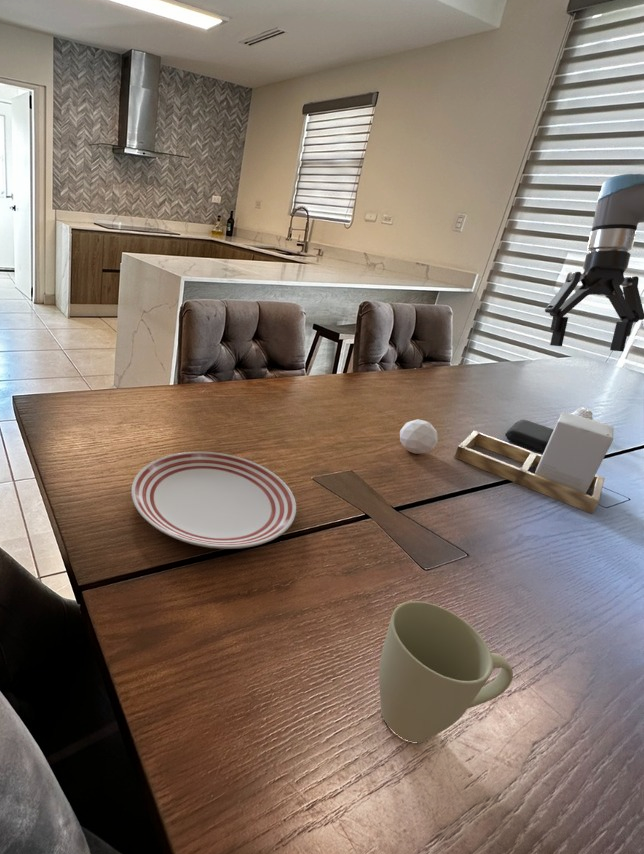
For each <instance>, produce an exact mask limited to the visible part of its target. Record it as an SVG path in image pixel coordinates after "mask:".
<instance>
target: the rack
mask: <svg viewBox="0 0 644 854" xmlns="http://www.w3.org/2000/svg"><path fill="white" fill-rule="evenodd" d="M474 445H475V446H478V447H481V448H482V449H486V450H488V451H491V452H494V453H496V454H498V455H501V456H503V457H507V458H508V459H512V460H515V461H517V462H520V463H522V466H521V467H518V466H515V465H513V464H510V463H508V462H505V461H503V460H500V459H498V458H495V457H493V456H489V455H487V454H484V453H482V452H480V451H478V450H475V449H472V447H473V446H474ZM542 455H543V454H540V453H539V452H535V451H532V450H530V449H528V448H525V447H524V448H523V447H522V446H520V445H519V446H518V445H517V444H513V443H511V442H507V441H505V440H502V439H499V438H496V437H494V436H491V435H488V434H486V433H482V432H480V431H477V430H472V432H471V433H470V434H469V435H468V436H467V437H466V438H465V439H463V441H462V442H461V443H459V445H458V446H457V448H456V450H455V452H454V456H453V459H456V460H459V461H462V462H464V463H466V464H469V465H471V466H474V467H476V468H478V469H482V470H483V471H486V472H489V473H491V474H493V475H496V476H499V477H500V478H503V479H506V480H508V481H511V482H513V483H515V484H518V485H521V486H523V487H525V488H527V489H530V490H532V491H534V492H537V493H540V494H543V495H545V496H547V497H549V498H552V499H553V500H554V499H555V500H557V501H560V502H562V503H564V504H566V505H569V506H571V507H574V508H576V509H579V510H582V511H584V512H586V513H589V514H590V515H591V514H593V513H594V511H595V510H596V508H597V506H598V504H599V502H600V498H601V495H602V492H603V487H604V482H605V477H604V476H600V475H597V474H595V476H594V478H593V480H592V482H591V484H590V486H589V488H588V489H590V492H589V494H588V493H586V494H585V493H582V492H580V491H577V490H575V489H572V488H570V487H567V486H564V485H562V484H559V483H557V482H554V481H552V480H549V479H546V478H544V477H541V476H539V475H536V474H534V473H535V472H534V473H533V472H531V471H530V470H531V468H535V469H537V466H538V464H539V462H540V459H541V457H542Z"/></svg>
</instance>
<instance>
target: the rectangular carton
mask: <svg viewBox="0 0 644 854" xmlns="http://www.w3.org/2000/svg"><path fill="white" fill-rule="evenodd" d="M571 413H572V412H567V411H564V410H563V411H562V412H561V413H560V416H559V418H558V420H557V421H556V423H555V426H554V428H553V429H554V430H553V432H552V435H551V437H550V439H549V441H548V444H547V446H546V448H545V450H544V452H542V454H541V455H542V457H541V459H540V462H539V464H538V466H537V468H535V471H534V474H536V475H539V476H541V477H544V478H546V479H549V480H552V481H554V482H557V483H559V484H562V485H564V486H567V487H570V488H572V489H575V490H577V491H580V492H582V493H585V494H587V493H588V490H589V489H590V488H589V486H590V484H591V482H592V480H593V478H594V476H595V475H597V473H598V470H599V469H600V467H601V464H602V462H603V461H604V458H605V457H606V455H607V453H608V451H609V449H610V446H611V444H612V443H613V442H614V429H615V428H614V425H611V424H608V423H604V422H601V421H598V420H595V419H593V420H591V419H587V418H584V417H581V416H577V415H574V414H571Z"/></svg>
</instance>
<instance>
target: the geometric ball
mask: <svg viewBox="0 0 644 854" xmlns="http://www.w3.org/2000/svg"><path fill="white" fill-rule="evenodd" d="M399 442H400V443H401V444H402V446H403V447H404V448H405V450H406V451H407V452H410V453H412V454H415V455H416V454H417V455H421V454H425V453H429V452H431V451H432V450H433V449H434V448H435V446H436V445H437V444H438V431H437V430H436V428H435V427H434V426H433V425H432V423H431V422H430V421H426V420H423V419H420V418H419V419H418V418H417V419H414V420H410V421H407V422H405V424H404V425H403V426H402V428H401V429H400V430H399Z"/></svg>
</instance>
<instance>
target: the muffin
mask: <svg viewBox="0 0 644 854" xmlns="http://www.w3.org/2000/svg"><path fill="white" fill-rule="evenodd" d="M570 413H571V414H574V415H577V416H581V417H584V418H587V419H591V420H594V419H593V412H592V411H591V410H590V409H588V408H584V407H580V408H578V407H577V409H576V410H575V411H572V412H570Z"/></svg>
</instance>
